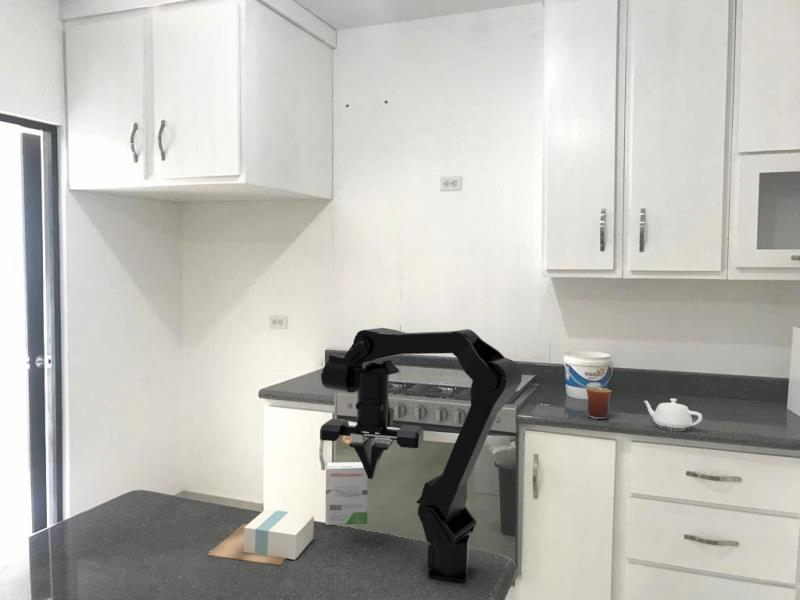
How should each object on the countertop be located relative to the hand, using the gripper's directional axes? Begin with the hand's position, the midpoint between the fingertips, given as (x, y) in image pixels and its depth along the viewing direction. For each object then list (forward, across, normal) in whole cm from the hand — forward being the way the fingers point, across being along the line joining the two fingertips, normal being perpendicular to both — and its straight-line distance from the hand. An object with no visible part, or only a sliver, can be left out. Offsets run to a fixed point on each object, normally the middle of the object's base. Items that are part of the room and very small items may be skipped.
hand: (370, 478), depth 118 cm
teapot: (+13, -75, -116) cm, 138 cm away
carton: (+10, +11, +5) cm, 16 cm away
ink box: (+13, +8, -10) cm, 18 cm away
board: (+13, +20, +5) cm, 24 cm away
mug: (+13, -51, -124) cm, 135 cm away
